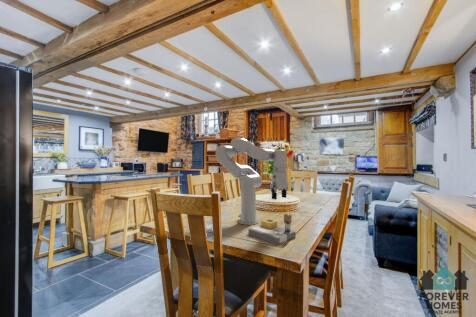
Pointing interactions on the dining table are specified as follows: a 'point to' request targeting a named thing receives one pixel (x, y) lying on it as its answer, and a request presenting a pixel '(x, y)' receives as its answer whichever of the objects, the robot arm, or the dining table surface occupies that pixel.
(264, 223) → the block
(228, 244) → the dining table surface
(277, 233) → the subfloor board
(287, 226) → the awl
